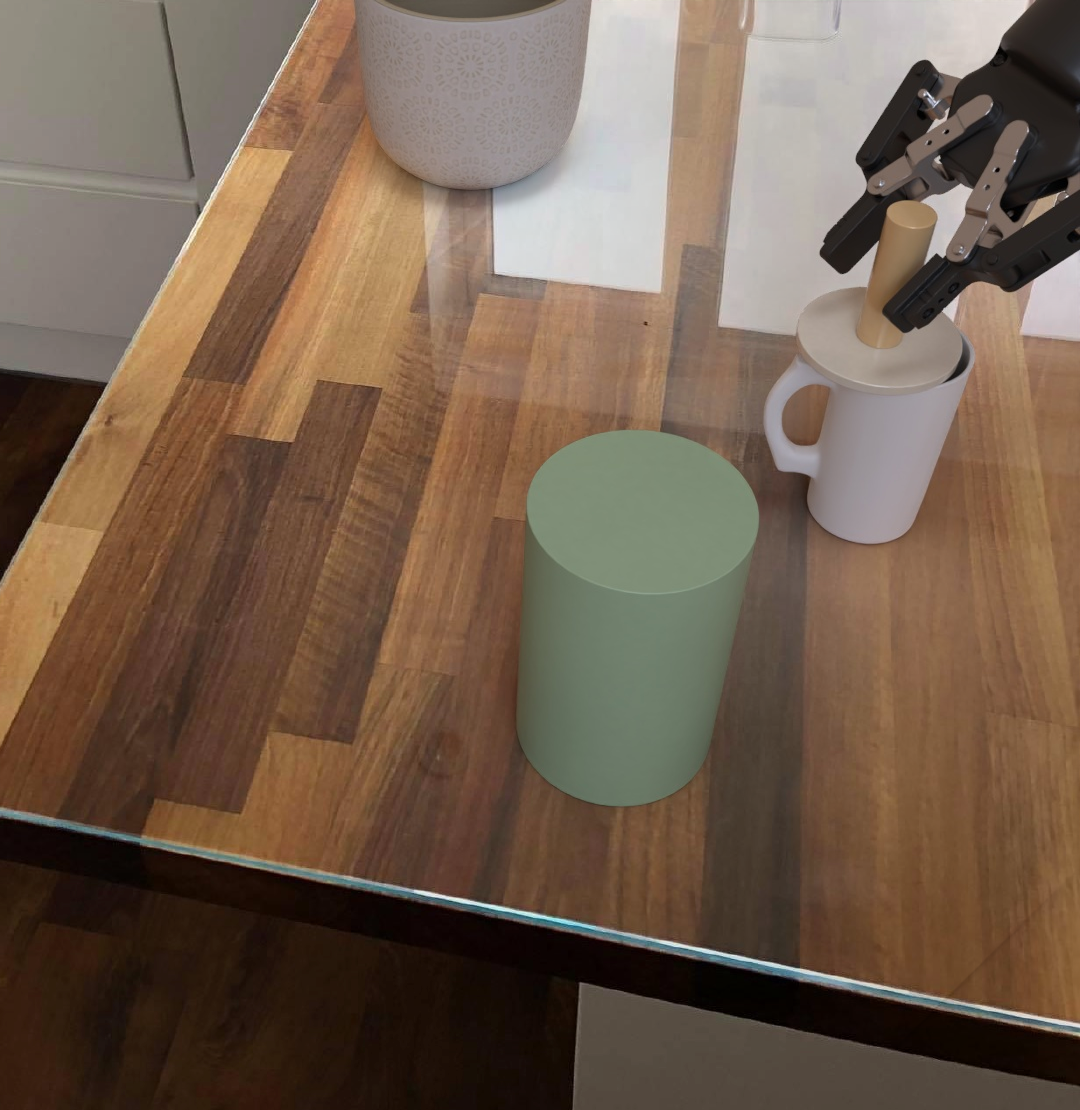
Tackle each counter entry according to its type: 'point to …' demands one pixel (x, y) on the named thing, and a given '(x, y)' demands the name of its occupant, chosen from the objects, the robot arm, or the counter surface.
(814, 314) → the lid
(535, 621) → the cylinder
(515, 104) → the planter
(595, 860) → the counter surface
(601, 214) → the counter surface
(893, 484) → the mug
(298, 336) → the counter surface
